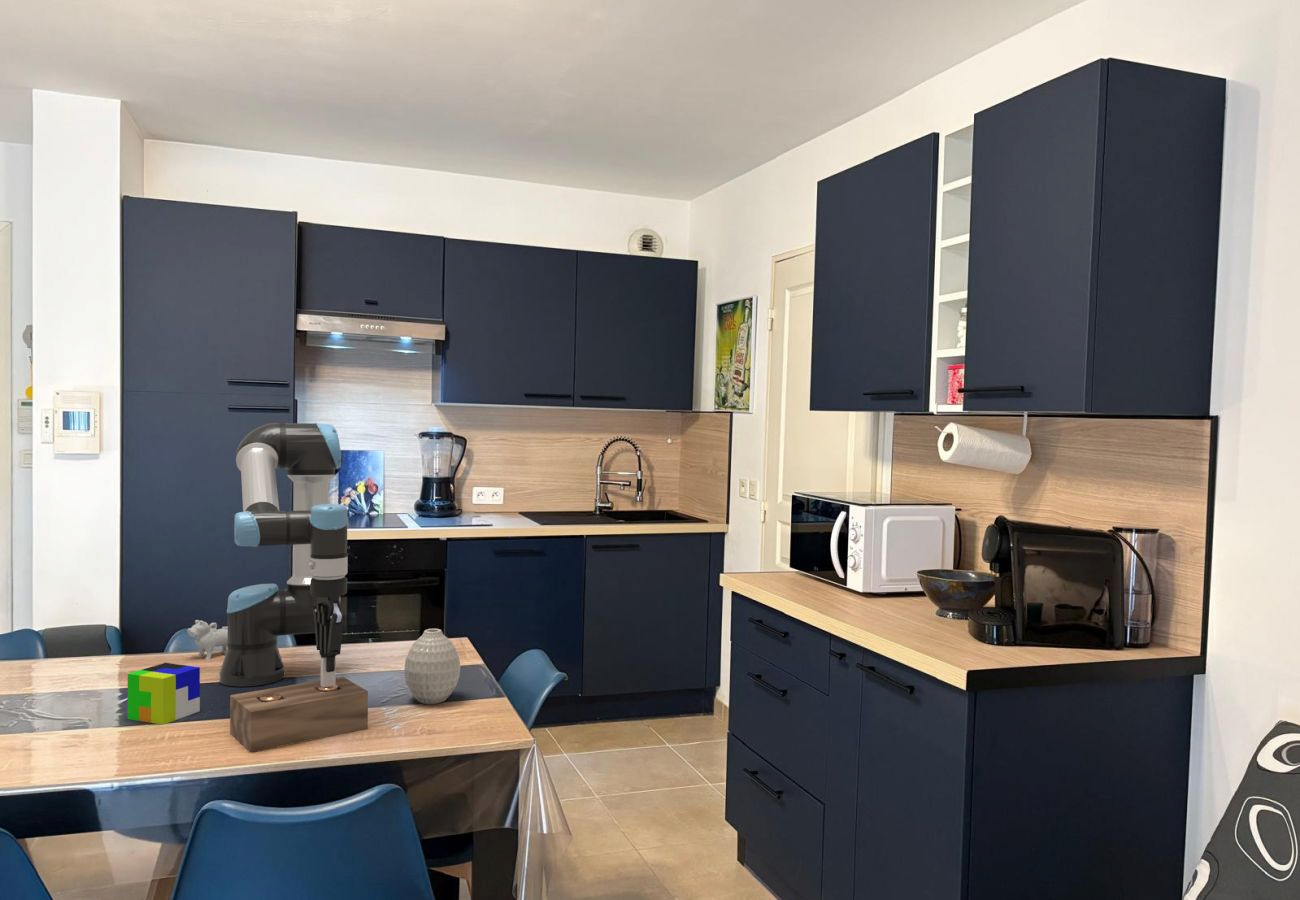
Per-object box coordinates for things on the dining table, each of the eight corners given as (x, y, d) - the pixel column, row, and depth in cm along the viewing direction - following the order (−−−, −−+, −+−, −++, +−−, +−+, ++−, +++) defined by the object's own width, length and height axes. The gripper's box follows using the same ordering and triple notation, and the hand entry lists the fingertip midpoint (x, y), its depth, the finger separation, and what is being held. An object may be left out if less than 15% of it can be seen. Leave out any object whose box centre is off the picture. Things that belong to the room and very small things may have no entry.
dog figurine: (183, 659, 251) (183, 620, 250) (227, 650, 261) (227, 613, 261) (193, 663, 248) (193, 623, 247) (238, 653, 258) (238, 615, 258)
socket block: (230, 733, 193) (230, 695, 193) (342, 711, 209) (342, 676, 209) (250, 752, 183) (250, 712, 182) (367, 728, 198) (367, 691, 198)
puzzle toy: (199, 711, 208) (199, 667, 207) (163, 725, 198) (163, 678, 198) (165, 706, 211) (165, 662, 211) (127, 719, 201) (127, 673, 201)
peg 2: (315, 720, 200) (315, 686, 200) (333, 716, 202) (333, 682, 202) (321, 725, 197) (322, 690, 196) (340, 721, 199) (340, 687, 199)
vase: (470, 697, 222) (471, 627, 221) (437, 711, 210) (437, 638, 209) (427, 689, 227) (428, 622, 226) (392, 703, 215) (393, 632, 215)
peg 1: (257, 731, 192) (257, 696, 192) (277, 728, 195) (277, 692, 194) (263, 737, 189) (263, 700, 189) (283, 733, 192) (283, 697, 191)
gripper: (300, 574, 201) (299, 681, 202) (322, 582, 191) (321, 695, 192) (334, 571, 206) (333, 676, 207) (357, 579, 196) (356, 689, 197)
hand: (328, 685), depth 199 cm, fingers closed
